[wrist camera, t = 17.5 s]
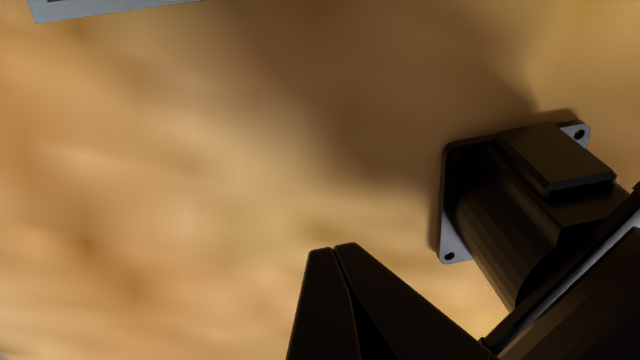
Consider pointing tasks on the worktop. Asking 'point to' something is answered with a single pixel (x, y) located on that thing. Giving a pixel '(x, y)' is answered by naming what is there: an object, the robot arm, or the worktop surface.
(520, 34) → the worktop surface
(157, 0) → the tray
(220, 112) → the worktop surface
